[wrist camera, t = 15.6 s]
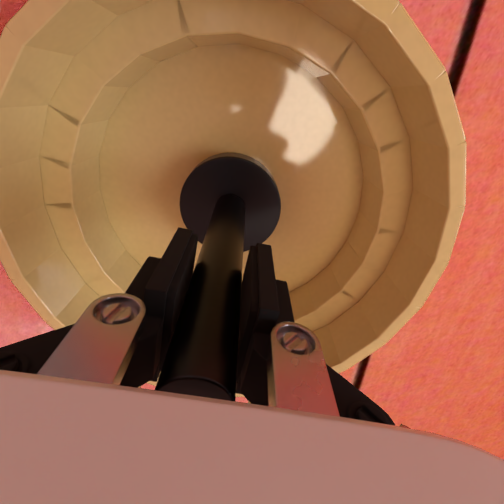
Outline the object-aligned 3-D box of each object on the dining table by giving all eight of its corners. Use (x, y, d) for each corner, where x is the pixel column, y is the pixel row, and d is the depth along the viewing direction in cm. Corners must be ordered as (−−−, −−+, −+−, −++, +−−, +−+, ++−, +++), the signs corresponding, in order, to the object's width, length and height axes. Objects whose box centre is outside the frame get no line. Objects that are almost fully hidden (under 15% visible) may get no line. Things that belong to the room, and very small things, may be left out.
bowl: (13, 207, 20) (-96, 259, 14) (205, -133, 13) (162, -350, 6) (245, 357, 26) (243, 439, 20) (458, 186, 19) (557, 231, 13)
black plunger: (164, 204, 19) (2, 411, 7) (225, 129, 17) (154, 225, 5) (236, 260, 21) (214, 502, 8) (298, 198, 19) (390, 399, 6)
